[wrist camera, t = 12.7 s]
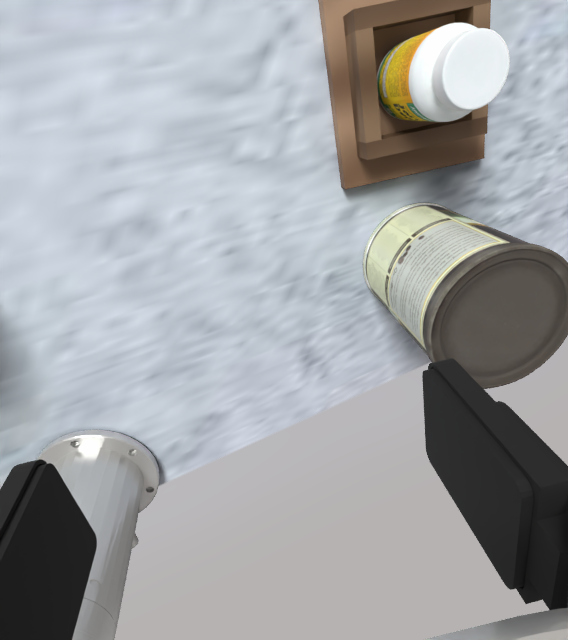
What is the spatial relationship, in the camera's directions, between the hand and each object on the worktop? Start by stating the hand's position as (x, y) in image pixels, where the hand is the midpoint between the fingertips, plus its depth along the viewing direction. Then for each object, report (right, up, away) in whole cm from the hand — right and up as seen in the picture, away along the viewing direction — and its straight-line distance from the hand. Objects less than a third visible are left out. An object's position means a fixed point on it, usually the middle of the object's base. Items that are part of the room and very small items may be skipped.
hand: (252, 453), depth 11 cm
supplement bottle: (+10, +21, +22) cm, 32 cm away
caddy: (+10, +22, +23) cm, 33 cm away
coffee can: (+13, +9, +30) cm, 34 cm away
